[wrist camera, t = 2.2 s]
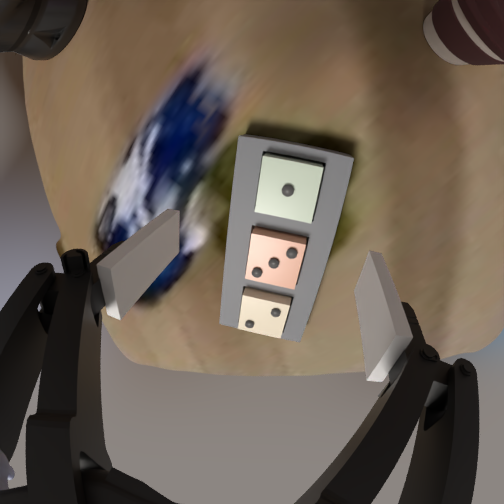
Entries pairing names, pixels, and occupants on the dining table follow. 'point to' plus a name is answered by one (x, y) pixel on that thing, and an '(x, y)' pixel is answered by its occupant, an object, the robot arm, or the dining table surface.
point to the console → (281, 228)
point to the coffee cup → (467, 31)
